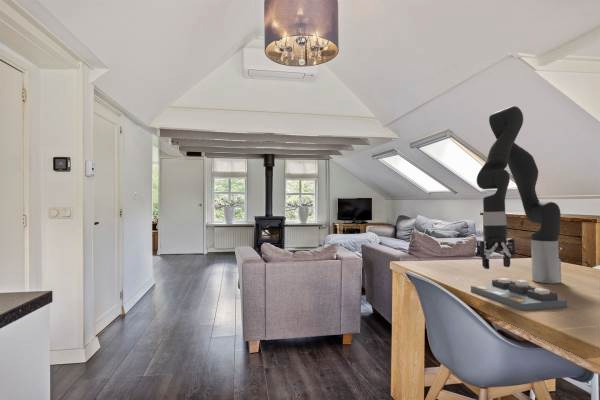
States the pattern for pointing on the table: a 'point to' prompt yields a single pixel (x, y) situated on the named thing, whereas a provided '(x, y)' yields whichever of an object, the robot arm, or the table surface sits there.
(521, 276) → the table surface
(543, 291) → the button
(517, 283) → the button
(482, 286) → the switch panel
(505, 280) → the button
